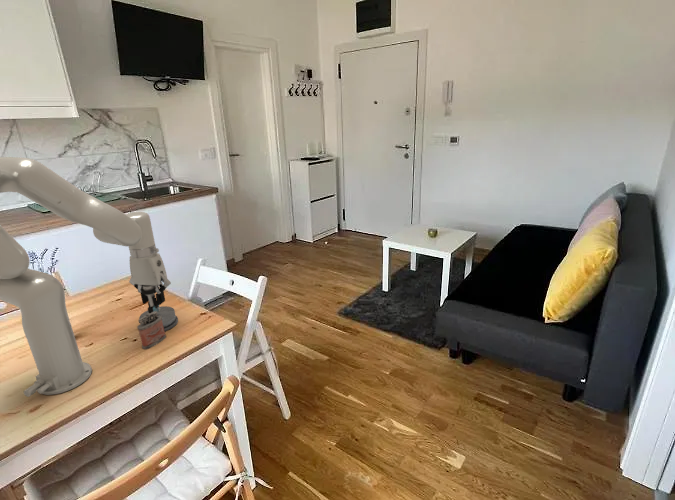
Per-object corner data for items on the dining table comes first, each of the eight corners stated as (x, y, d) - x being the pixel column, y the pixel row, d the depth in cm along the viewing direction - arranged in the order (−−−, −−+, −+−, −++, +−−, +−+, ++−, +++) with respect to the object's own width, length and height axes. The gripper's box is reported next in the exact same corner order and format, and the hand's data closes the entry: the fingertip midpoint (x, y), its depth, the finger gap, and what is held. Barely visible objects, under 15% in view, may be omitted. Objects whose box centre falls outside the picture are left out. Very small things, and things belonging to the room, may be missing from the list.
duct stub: (164, 335, 124) (162, 324, 123) (131, 332, 126) (129, 322, 125) (185, 316, 135) (183, 306, 134) (154, 314, 137) (152, 304, 136)
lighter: (161, 334, 125) (155, 307, 121) (168, 336, 123) (162, 309, 120) (139, 347, 118) (132, 319, 115) (147, 350, 117) (140, 321, 113)
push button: (150, 307, 132) (143, 280, 128) (166, 305, 132) (160, 278, 129) (144, 316, 125) (137, 289, 122) (161, 314, 126) (154, 287, 123)
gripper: (174, 248, 123) (183, 298, 130) (128, 246, 127) (139, 295, 133) (159, 256, 116) (170, 309, 123) (111, 254, 120) (123, 306, 126)
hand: (154, 301), depth 128 cm, fingers closed on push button, 4 cm apart
